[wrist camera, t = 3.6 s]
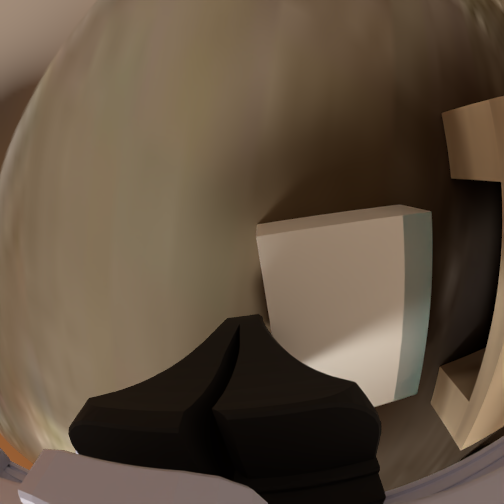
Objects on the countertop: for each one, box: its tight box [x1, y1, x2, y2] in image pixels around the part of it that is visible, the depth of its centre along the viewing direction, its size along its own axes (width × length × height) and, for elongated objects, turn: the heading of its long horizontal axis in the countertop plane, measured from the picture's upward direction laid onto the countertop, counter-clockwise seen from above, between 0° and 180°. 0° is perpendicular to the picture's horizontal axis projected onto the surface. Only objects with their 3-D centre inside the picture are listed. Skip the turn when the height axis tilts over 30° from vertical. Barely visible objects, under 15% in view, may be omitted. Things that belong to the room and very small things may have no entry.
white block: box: [256, 204, 432, 407], centre depth 11 cm, size 6×8×2 cm
